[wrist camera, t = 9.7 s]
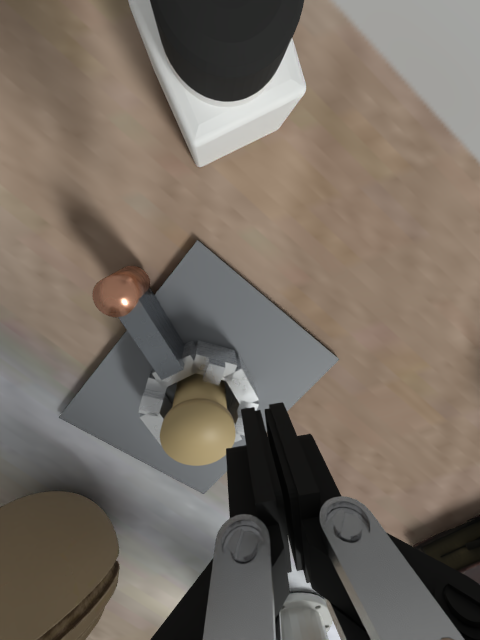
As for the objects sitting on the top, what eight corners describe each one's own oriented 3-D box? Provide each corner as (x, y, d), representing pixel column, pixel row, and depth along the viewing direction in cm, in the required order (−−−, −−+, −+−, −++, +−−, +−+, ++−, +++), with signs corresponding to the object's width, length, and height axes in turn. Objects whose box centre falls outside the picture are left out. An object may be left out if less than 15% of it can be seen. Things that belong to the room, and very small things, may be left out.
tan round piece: (-12, 542, 33) (-176, 780, 19) (5, 443, 29) (-189, 652, 15) (118, 560, 36) (59, 777, 22) (150, 473, 32) (102, 670, 18)
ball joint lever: (266, 405, 30) (277, 440, 25) (181, 445, 30) (176, 486, 25) (176, 240, 23) (168, 245, 19) (71, 294, 24) (37, 312, 19)
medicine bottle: (280, 129, 22) (351, 36, 11) (197, 169, 23) (184, 119, 11) (243, 19, 20) (286, -245, 9) (152, 66, 20) (78, -128, 9)
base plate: (203, 489, 34) (201, 559, 27) (48, 406, 28) (-6, 467, 21) (336, 356, 29) (375, 398, 23) (184, 228, 24) (173, 232, 17)
